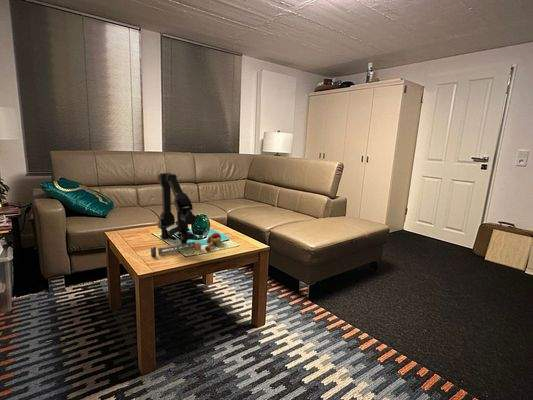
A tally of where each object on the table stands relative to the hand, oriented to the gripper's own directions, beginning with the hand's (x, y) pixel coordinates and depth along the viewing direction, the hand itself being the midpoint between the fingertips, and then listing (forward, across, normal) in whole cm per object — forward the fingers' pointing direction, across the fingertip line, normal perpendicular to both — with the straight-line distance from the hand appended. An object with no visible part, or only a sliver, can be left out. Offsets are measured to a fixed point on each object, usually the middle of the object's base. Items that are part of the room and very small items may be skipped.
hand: (183, 246), depth 159 cm
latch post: (+1, +5, +6) cm, 8 cm away
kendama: (+2, +4, +16) cm, 16 cm away
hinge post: (+1, +2, -16) cm, 16 cm away
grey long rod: (+1, +2, -4) cm, 4 cm away
